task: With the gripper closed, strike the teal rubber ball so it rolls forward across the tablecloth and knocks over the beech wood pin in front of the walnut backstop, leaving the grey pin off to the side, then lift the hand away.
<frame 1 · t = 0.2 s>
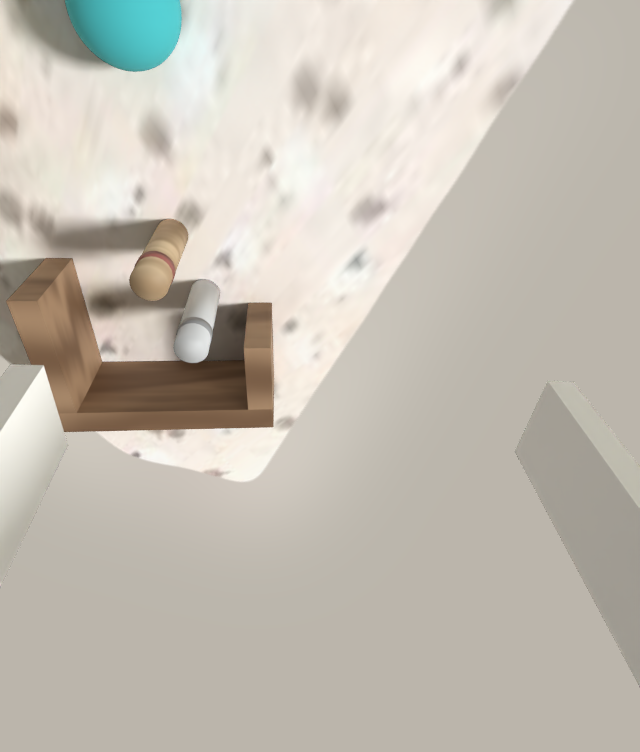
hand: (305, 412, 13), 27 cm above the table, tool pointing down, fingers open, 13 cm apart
grey pin: (205, 292, 41), on the table
walnut backstop: (179, 369, 45), on the table
beech pin: (172, 234, 38), on the table
ball: (125, 7, 27), on the table
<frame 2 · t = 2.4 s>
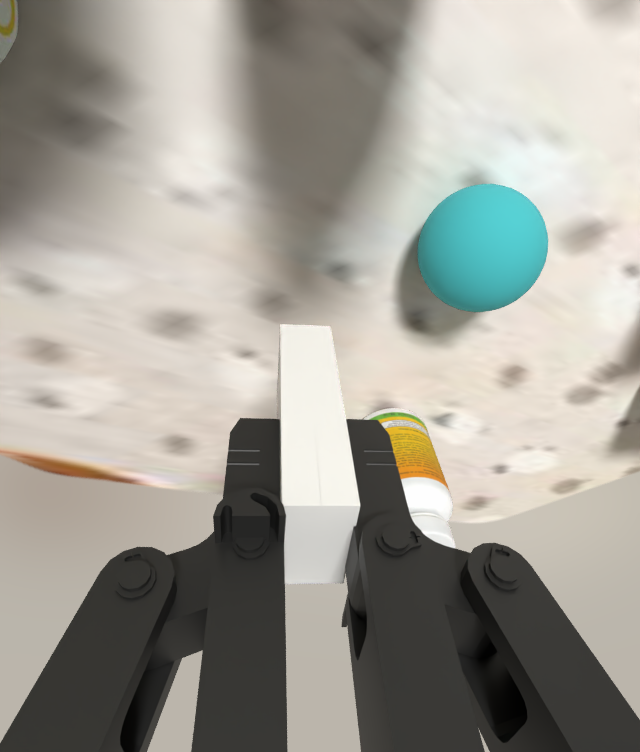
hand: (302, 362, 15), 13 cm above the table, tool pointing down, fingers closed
ball: (480, 250, 24), on the table
supplement bottle: (387, 431, 35), on the table
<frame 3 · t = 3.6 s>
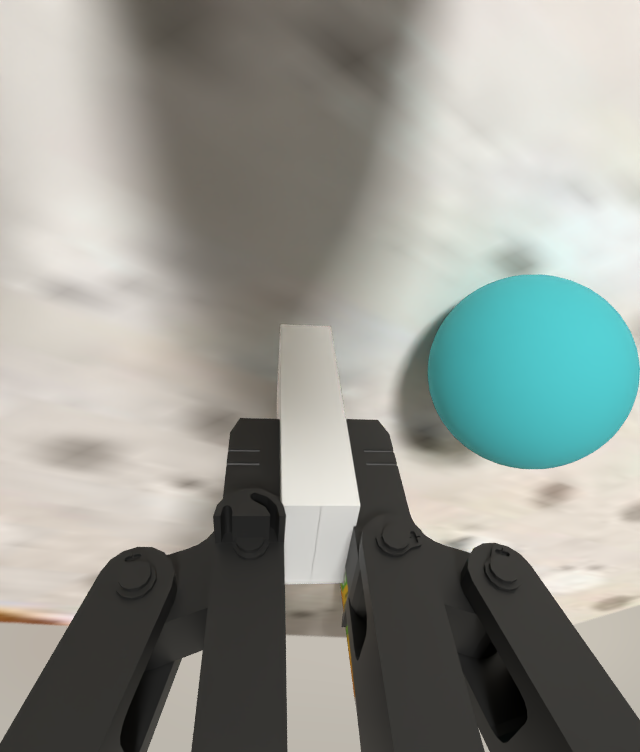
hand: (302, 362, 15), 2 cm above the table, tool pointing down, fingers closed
ball: (525, 372, 15), on the table
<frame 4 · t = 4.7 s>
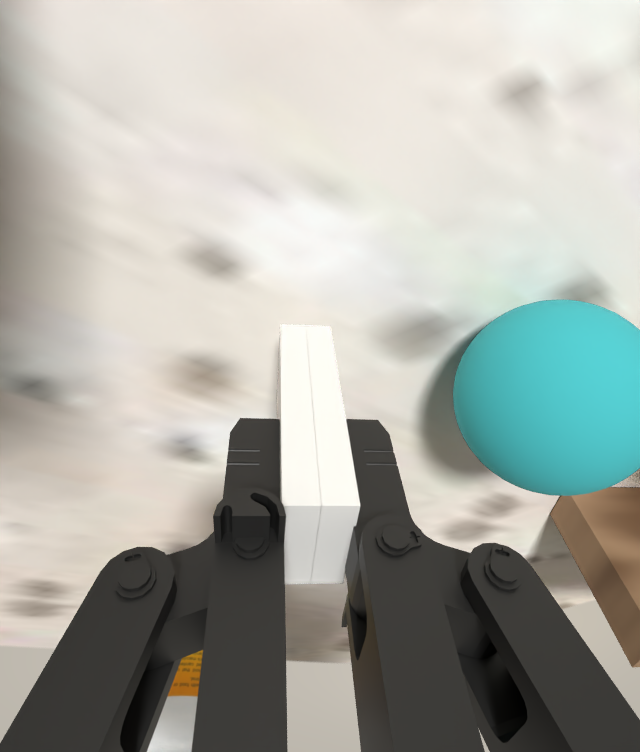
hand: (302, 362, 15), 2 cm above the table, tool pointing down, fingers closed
ball: (552, 396, 15), on the table
supplement bottle: (199, 574, 25), on the table
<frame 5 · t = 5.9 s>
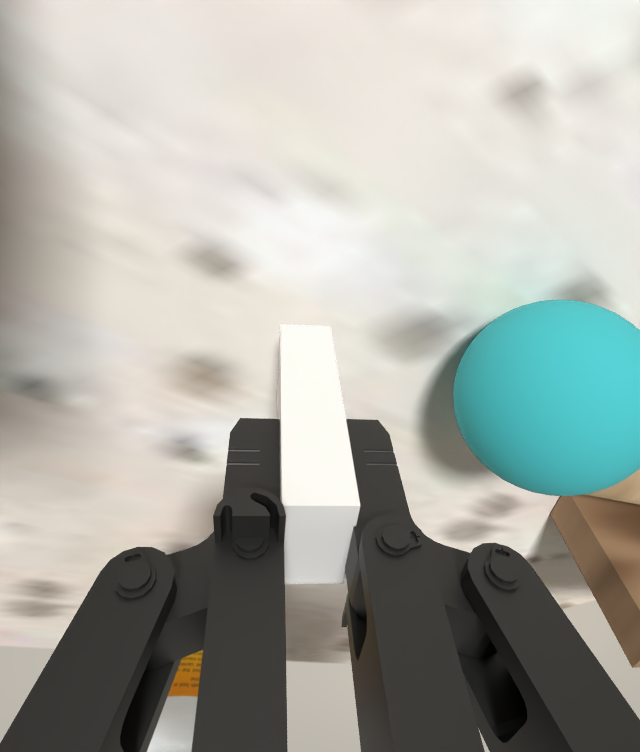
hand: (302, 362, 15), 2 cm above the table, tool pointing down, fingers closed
beech pin: (567, 461, 20), point 1 cm above the table, tilted 90°, touching walnut backstop
ball: (552, 397, 15), on the table
supplement bottle: (199, 574, 25), on the table
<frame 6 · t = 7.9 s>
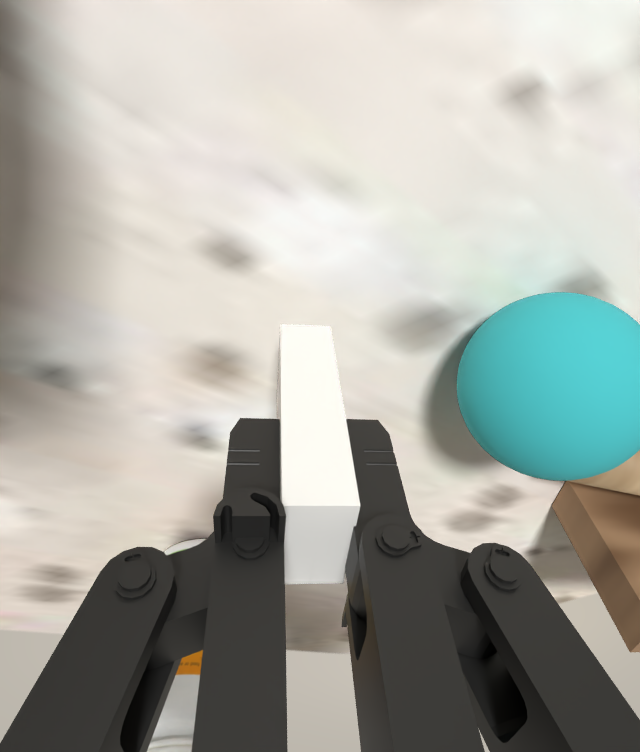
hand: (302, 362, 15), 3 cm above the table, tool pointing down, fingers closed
beech pin: (568, 451, 20), point 1 cm above the table, tilted 90°, touching walnut backstop
ball: (552, 386, 16), on the table
supplement bottle: (208, 561, 26), on the table
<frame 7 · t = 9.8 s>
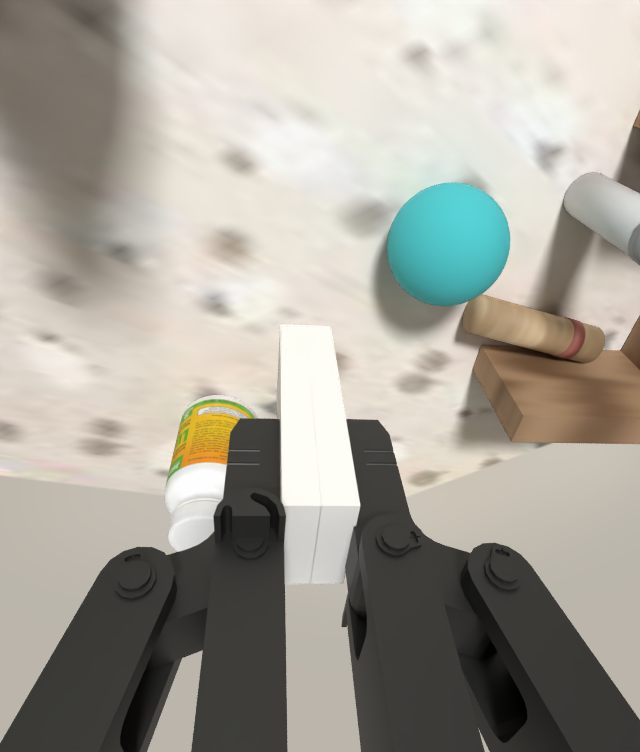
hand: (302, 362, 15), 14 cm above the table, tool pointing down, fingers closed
grey pin: (586, 195, 27), on the table
beech pin: (473, 313, 29), point 1 cm above the table, tilted 90°, touching walnut backstop
ball: (446, 246, 25), on the table
supplement bottle: (220, 419, 35), on the table
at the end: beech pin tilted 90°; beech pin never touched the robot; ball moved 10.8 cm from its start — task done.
